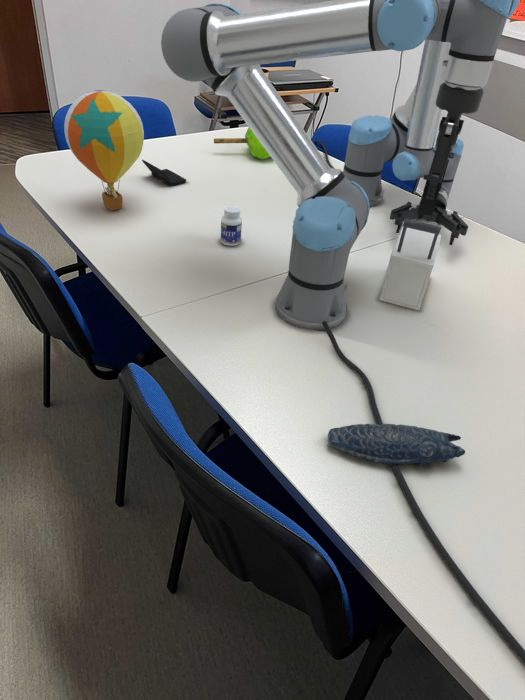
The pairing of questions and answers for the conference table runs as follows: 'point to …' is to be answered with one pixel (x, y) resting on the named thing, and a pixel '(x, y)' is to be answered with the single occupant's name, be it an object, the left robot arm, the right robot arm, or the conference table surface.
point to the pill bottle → (231, 226)
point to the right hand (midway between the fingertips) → (424, 234)
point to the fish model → (395, 443)
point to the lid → (417, 244)
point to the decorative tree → (252, 143)
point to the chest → (405, 284)
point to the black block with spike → (165, 175)
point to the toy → (105, 138)
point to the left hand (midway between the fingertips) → (429, 201)
